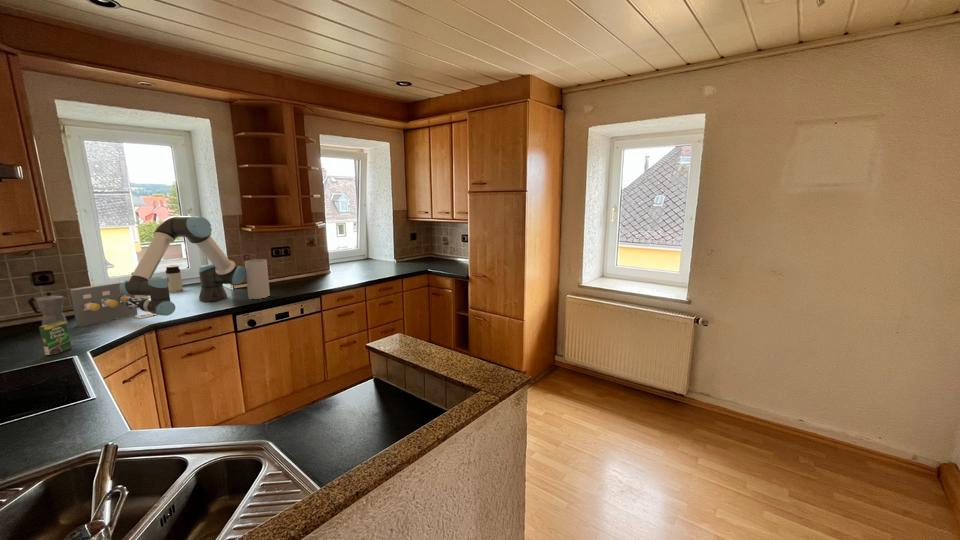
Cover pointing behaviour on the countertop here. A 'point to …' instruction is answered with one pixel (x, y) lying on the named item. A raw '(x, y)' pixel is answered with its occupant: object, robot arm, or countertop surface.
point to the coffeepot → (49, 308)
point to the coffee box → (55, 337)
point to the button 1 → (91, 306)
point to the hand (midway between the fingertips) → (126, 299)
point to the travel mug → (174, 278)
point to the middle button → (110, 303)
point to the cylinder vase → (257, 278)
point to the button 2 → (123, 298)
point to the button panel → (95, 296)
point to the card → (145, 315)
